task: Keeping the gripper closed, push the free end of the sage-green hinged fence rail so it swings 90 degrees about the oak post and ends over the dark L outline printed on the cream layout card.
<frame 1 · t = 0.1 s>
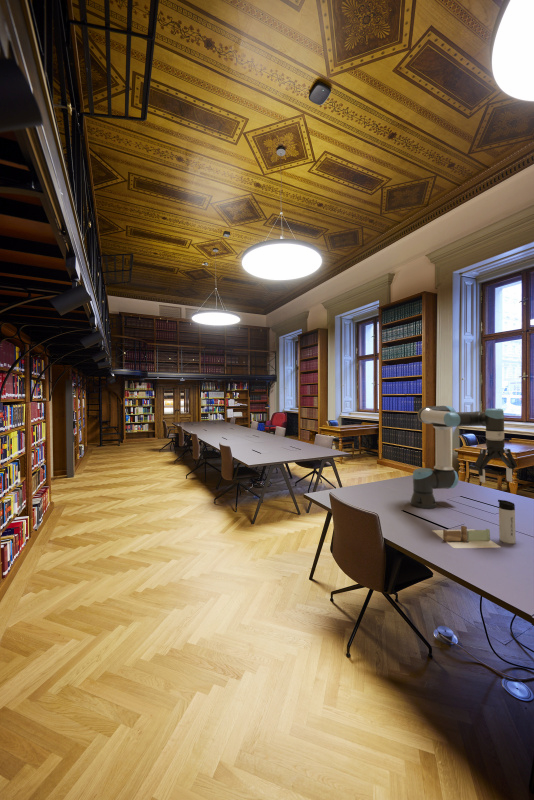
hand: (495, 481, 160), 28 cm above the table, fingers open, 13 cm apart
hinged rail: (478, 534, 155), point 3 cm above the table, hinge at 0.0°
travel mug: (507, 542, 154), on the table
layout card: (464, 539, 158), on the table
fence fixed: (464, 541, 155), resting on layout card
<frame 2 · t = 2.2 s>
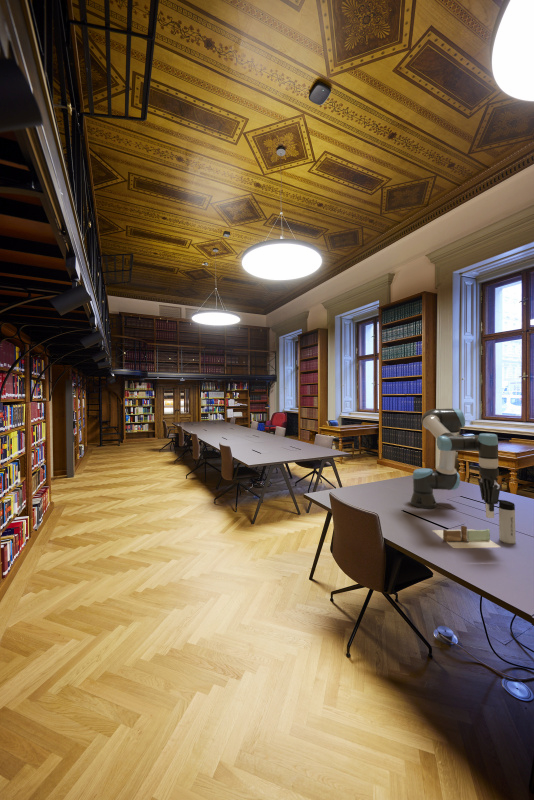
hand: (489, 517, 149), 14 cm above the table, fingers closed
nothing on the table moved.
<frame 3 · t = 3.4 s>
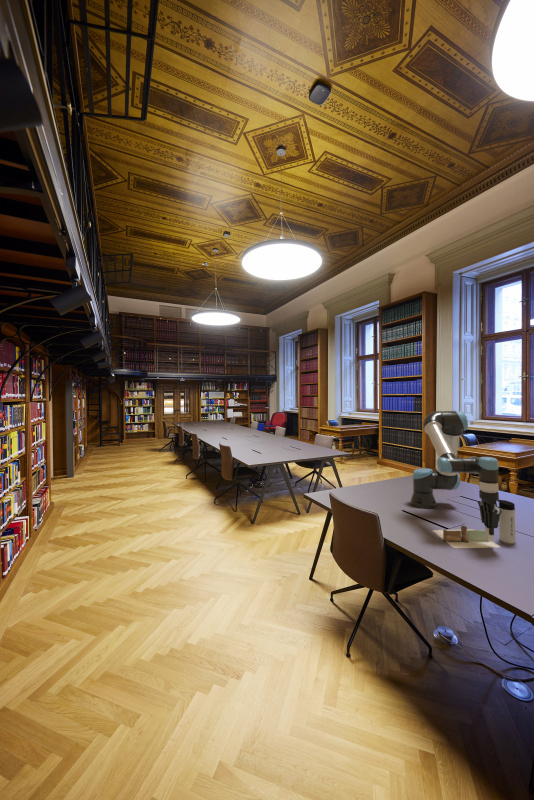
hand: (489, 540, 150), 3 cm above the table, fingers closed
nothing on the table moved.
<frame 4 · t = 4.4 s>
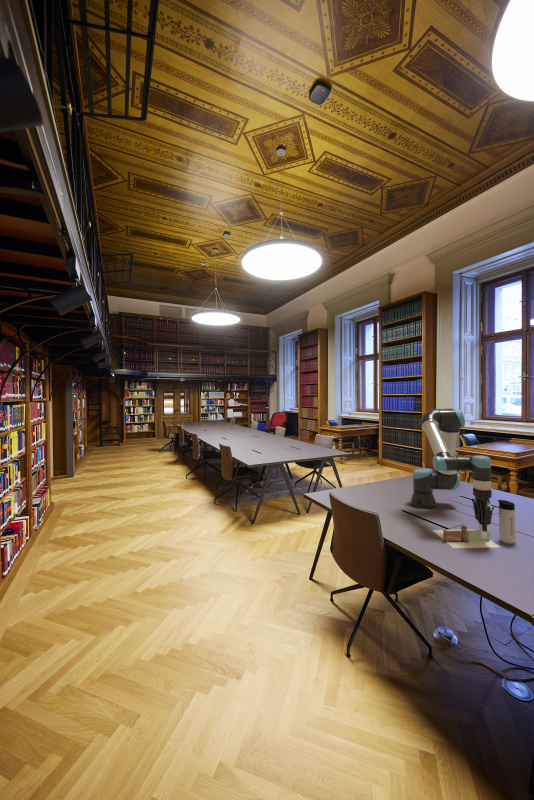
hand: (483, 536, 154), 3 cm above the table, fingers closed
hinged rail: (478, 534, 155), point 3 cm above the table, hinge at 0.1°, touching gripper
everything else where it was.
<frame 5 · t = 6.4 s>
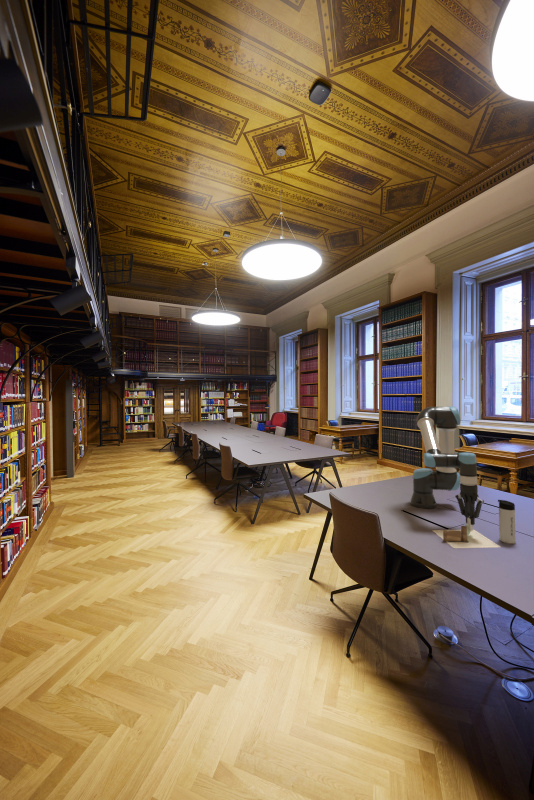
hand: (470, 530, 161), 3 cm above the table, fingers closed
hinged rail: (466, 530, 161), point 3 cm above the table, hinge at 50.0°, touching gripper
everything else where it was.
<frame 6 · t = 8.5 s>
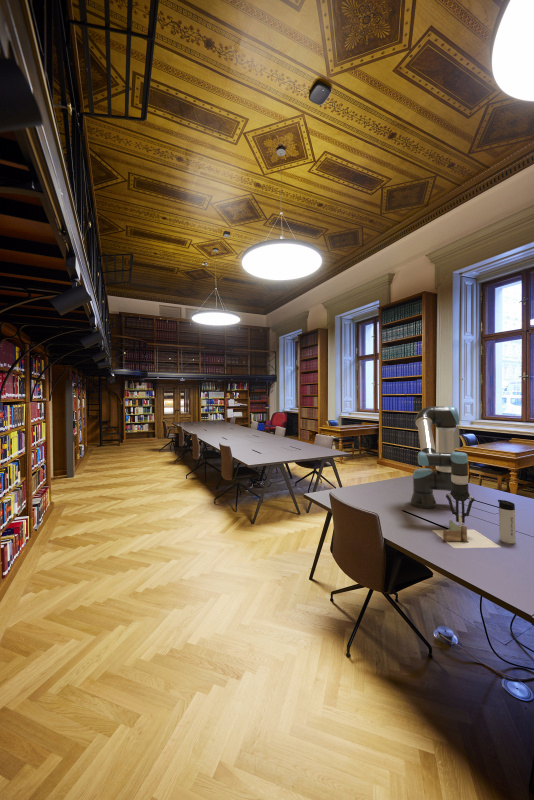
hand: (460, 528, 164), 3 cm above the table, fingers closed
hinged rail: (455, 529, 162), point 4 cm above the table, hinge at 89.6°
everything else where it was.
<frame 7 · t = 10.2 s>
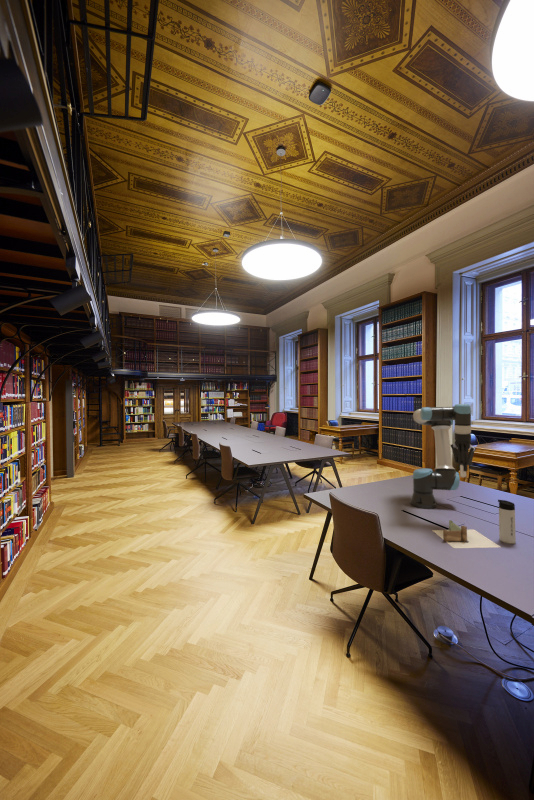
hand: (463, 476, 171), 28 cm above the table, fingers closed
nothing on the table moved.
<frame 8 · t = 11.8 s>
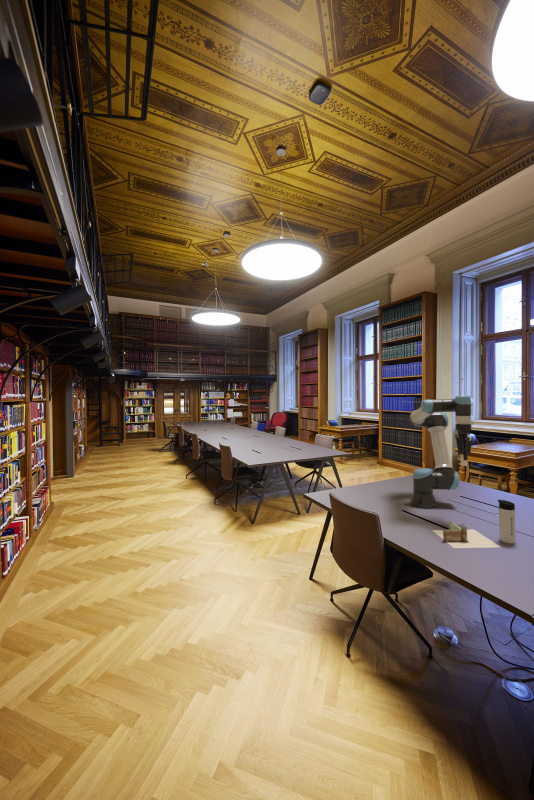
hand: (464, 465, 177), 32 cm above the table, fingers closed
nothing on the table moved.
at the end: hinged rail at +90° (first picture: +0°); hinged rail touching nothing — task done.
